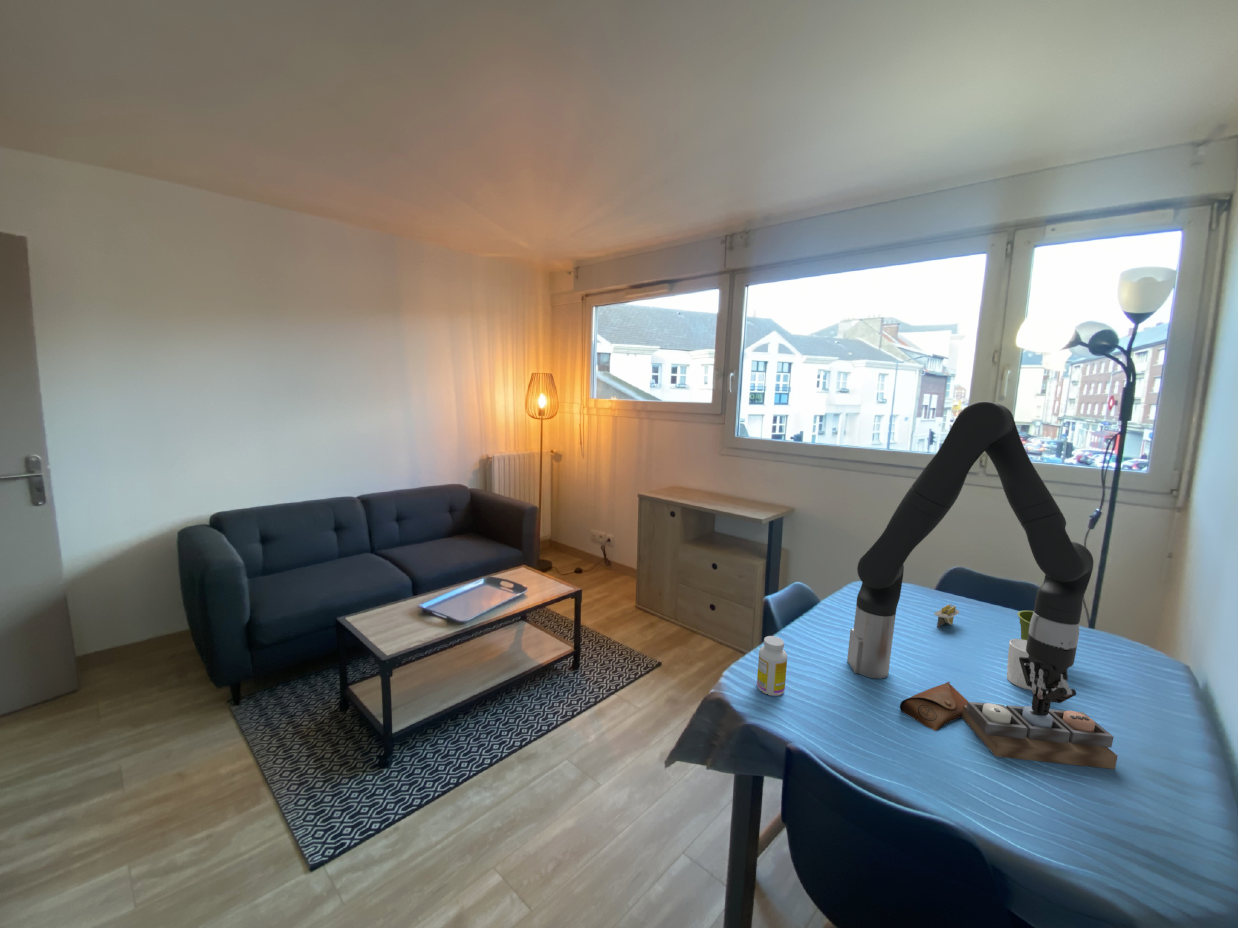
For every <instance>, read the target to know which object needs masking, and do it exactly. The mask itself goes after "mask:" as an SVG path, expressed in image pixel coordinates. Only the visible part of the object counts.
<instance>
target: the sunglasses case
mask: <svg viewBox="0 0 1238 928" xmlns="http://www.w3.org/2000/svg"><path fill="white" fill-rule="evenodd" d="M950 683H951V681H947V682H945V683H941V684H939V685H937V686H933V687H932V688H929V689H926V690H923V691H921V692H919V693H917V694H913V695H912V696H910V697H907V698H905V699H903V700H901V702H900V704H899V705H900V706H899V709H900V712H903V713H904V714H906V715H907V716H908V717H911V718H912V719H913V720H915V721H917V722H918V723H920V724H922V725H924V726H925V727H927V728H929V729H931V730H932V731H933V732H937V731H938V730H940V729H941V728H942V727H944V726H945V725H947V724H949V723H951V722H953V721H955V720H958V719H960V718H962V712H963V706H964V705H966V706H967V703H968V702H970V701H969V700H968V699H967V698H965V696H963V694H961V693H960V692H959V691H958V690H957V689H956V688H955V687H954V686H953V685H951V684H950Z"/></svg>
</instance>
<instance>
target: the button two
mask: <svg viewBox="0 0 1238 928" xmlns="http://www.w3.org/2000/svg"><path fill="white" fill-rule="evenodd" d="M1023 707H1024V708H1023V713H1022V717H1023V718H1024V719H1025V720H1026V721H1027V722H1028V723H1029V724H1030V725H1031V726H1035V727H1045V728H1052V723H1053V717H1052V716H1051V715H1050V714H1048V715H1037V714H1036V713H1035V712H1034V711H1033V710H1032V705H1031V706H1028V705H1027V706H1026V705H1025V706H1023Z"/></svg>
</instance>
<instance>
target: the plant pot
mask: <svg viewBox="0 0 1238 928" xmlns="http://www.w3.org/2000/svg"><path fill="white" fill-rule="evenodd" d="M1033 612H1034V610H1020V611H1018V612H1017V613H1016V614H1017V616H1018V618H1019V624H1020V639H1022V640H1027V639H1028V633H1029V627H1030V621H1031V618H1032V615H1033Z"/></svg>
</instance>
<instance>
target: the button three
mask: <svg viewBox="0 0 1238 928" xmlns="http://www.w3.org/2000/svg"><path fill="white" fill-rule="evenodd" d="M1064 711H1065V712H1064V715H1063V721H1064V722H1066V723H1067V724H1068V725H1069V726H1070V727H1071V728H1072V729H1074V730H1076V731H1086V732H1094V728H1095V722H1096V721H1095V720H1094V719H1092V718H1091V717H1090V716H1089V715H1087V714H1086V715H1087V716H1086V715H1084V714H1081V713H1078V712H1079V711H1074V710H1064ZM1088 716H1089V717H1090V718H1089V717H1088ZM1093 720H1094V721H1095V722H1094V721H1093Z"/></svg>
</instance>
